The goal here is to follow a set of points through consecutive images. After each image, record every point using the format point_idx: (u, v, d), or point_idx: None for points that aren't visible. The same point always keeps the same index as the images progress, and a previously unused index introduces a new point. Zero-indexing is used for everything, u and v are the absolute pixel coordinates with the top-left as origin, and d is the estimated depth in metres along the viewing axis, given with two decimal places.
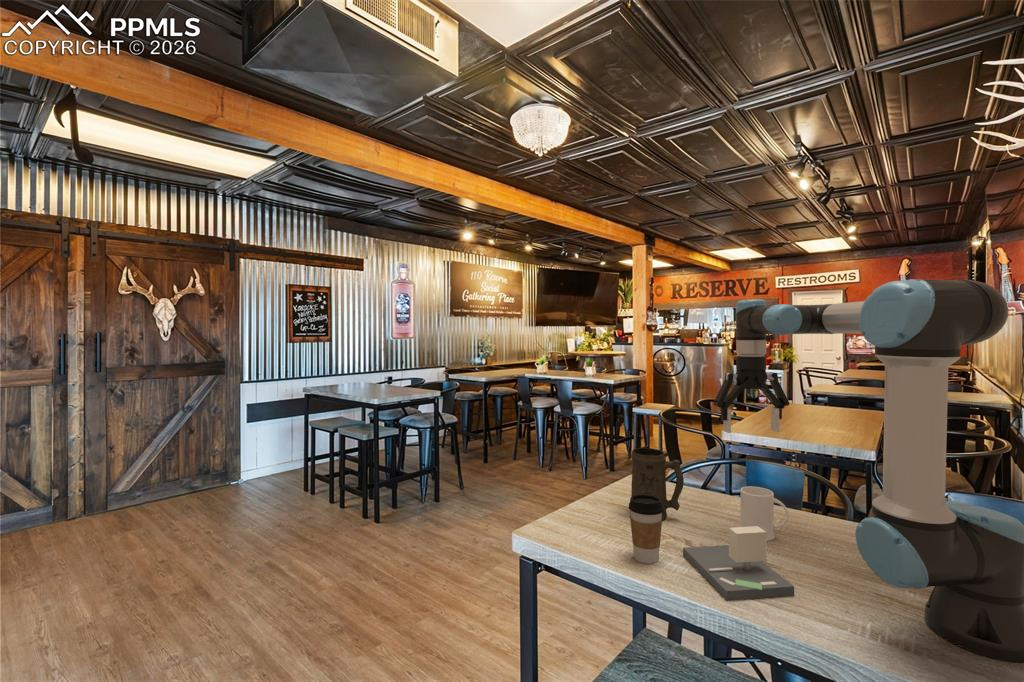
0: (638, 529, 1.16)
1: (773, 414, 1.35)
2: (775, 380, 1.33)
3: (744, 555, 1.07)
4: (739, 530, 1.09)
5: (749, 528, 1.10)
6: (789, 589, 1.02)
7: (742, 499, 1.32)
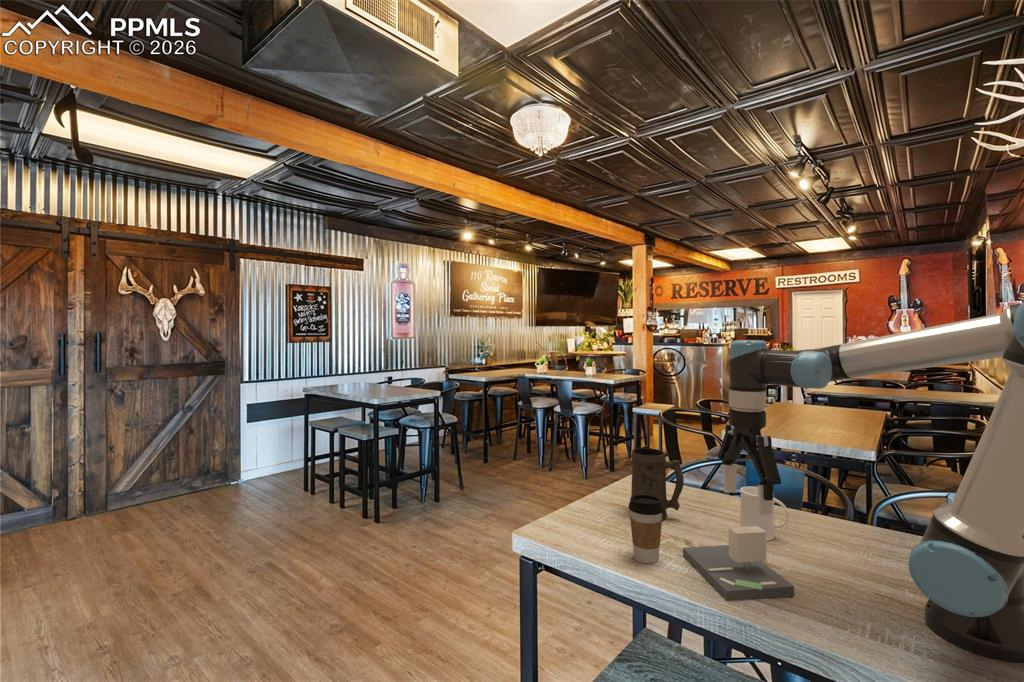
0: (638, 529, 1.16)
1: None
2: (758, 446, 1.02)
3: (744, 555, 1.07)
4: (739, 530, 1.09)
5: (749, 528, 1.10)
6: (789, 589, 1.02)
7: (742, 499, 1.32)
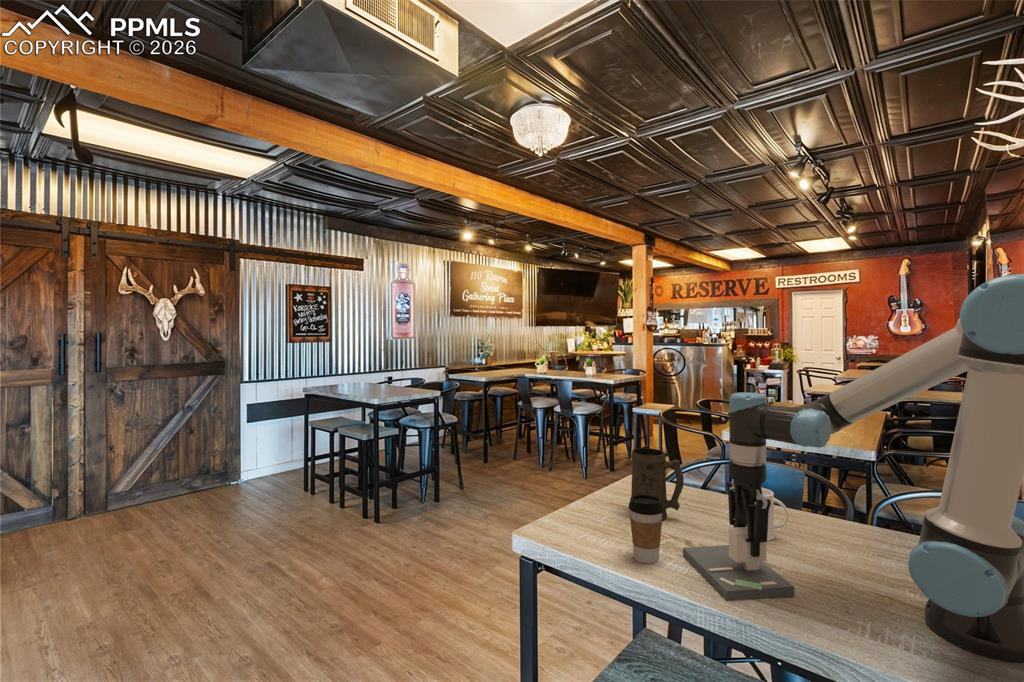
0: (638, 529, 1.16)
1: None
2: (756, 507, 1.04)
3: (744, 555, 1.07)
4: (739, 530, 1.09)
5: None
6: (789, 589, 1.02)
7: None
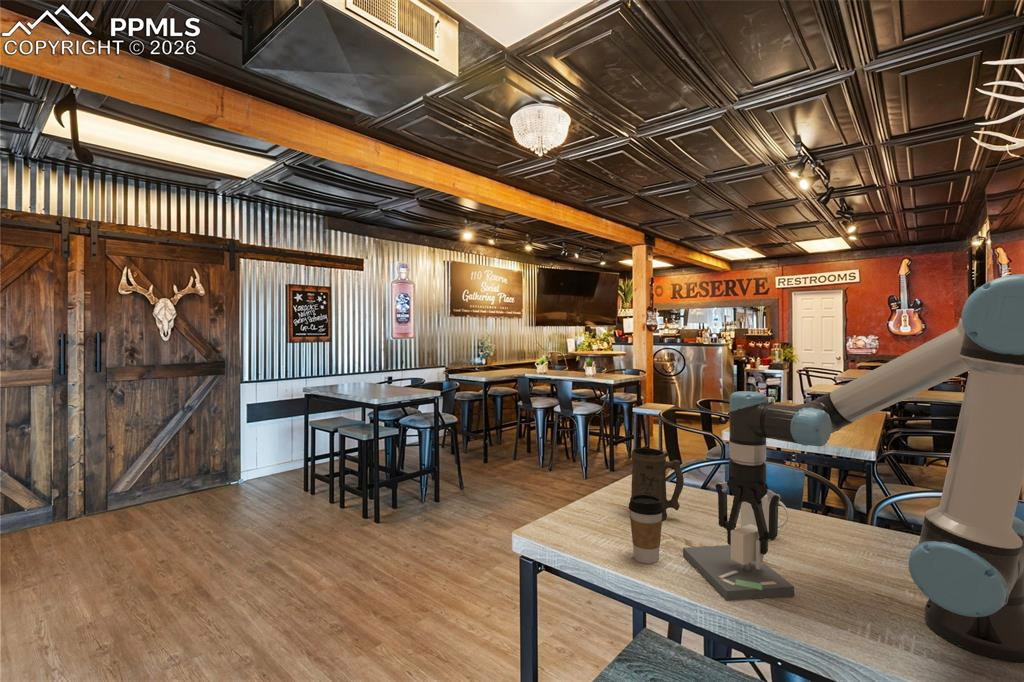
0: (638, 529, 1.16)
1: None
2: (771, 504, 1.04)
3: (748, 556, 1.07)
4: (742, 532, 1.08)
5: (747, 528, 1.10)
6: (789, 589, 1.02)
7: None
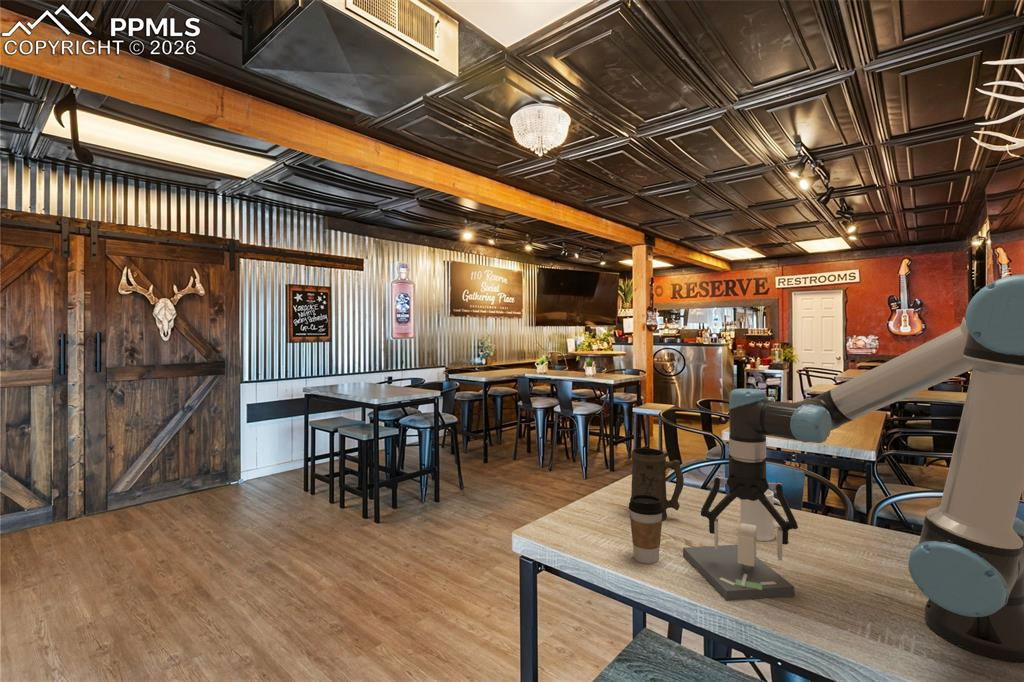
0: (638, 529, 1.16)
1: (777, 536, 1.07)
2: (778, 494, 1.05)
3: (754, 556, 1.07)
4: (747, 533, 1.07)
5: (744, 527, 1.10)
6: (789, 589, 1.02)
7: None
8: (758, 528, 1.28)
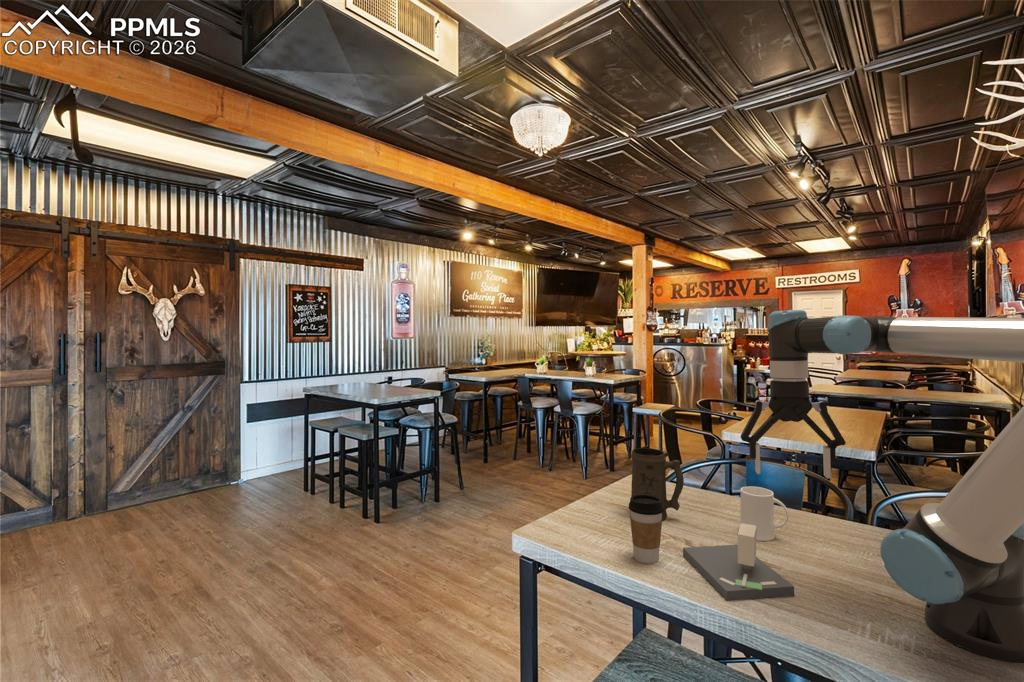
0: (638, 529, 1.16)
1: (824, 455, 1.06)
2: (823, 412, 1.05)
3: (754, 556, 1.07)
4: (747, 533, 1.07)
5: (744, 527, 1.10)
6: (789, 589, 1.02)
7: (742, 499, 1.32)
8: (758, 528, 1.28)
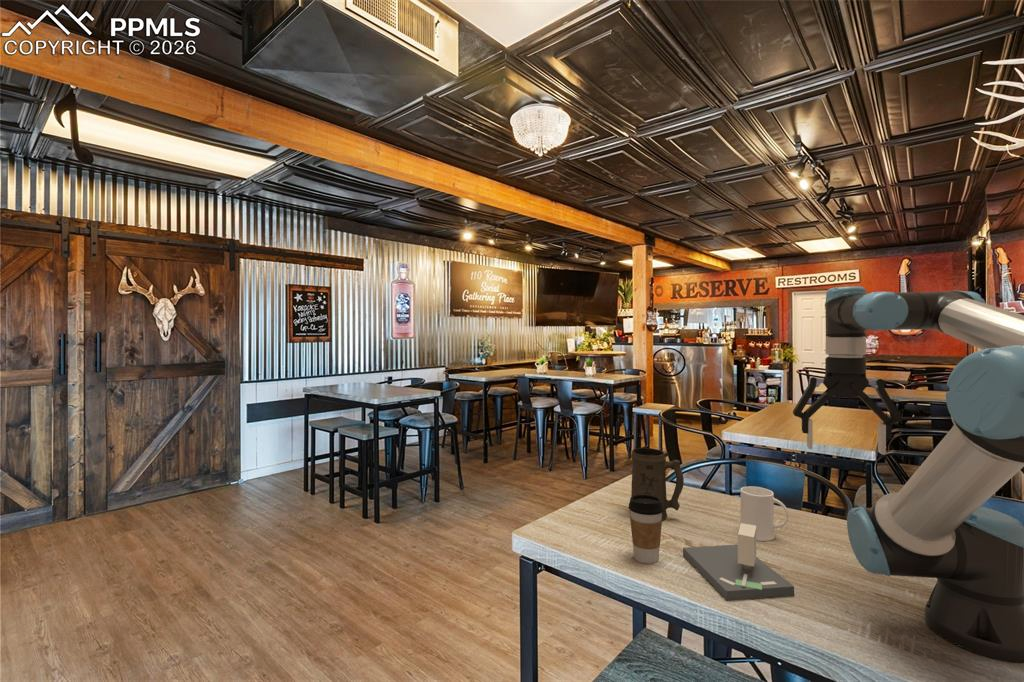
0: (638, 529, 1.16)
1: (879, 431, 1.06)
2: (880, 388, 1.05)
3: (754, 556, 1.07)
4: (747, 533, 1.07)
5: (744, 527, 1.10)
6: (789, 589, 1.02)
7: (742, 499, 1.32)
8: (758, 528, 1.28)
